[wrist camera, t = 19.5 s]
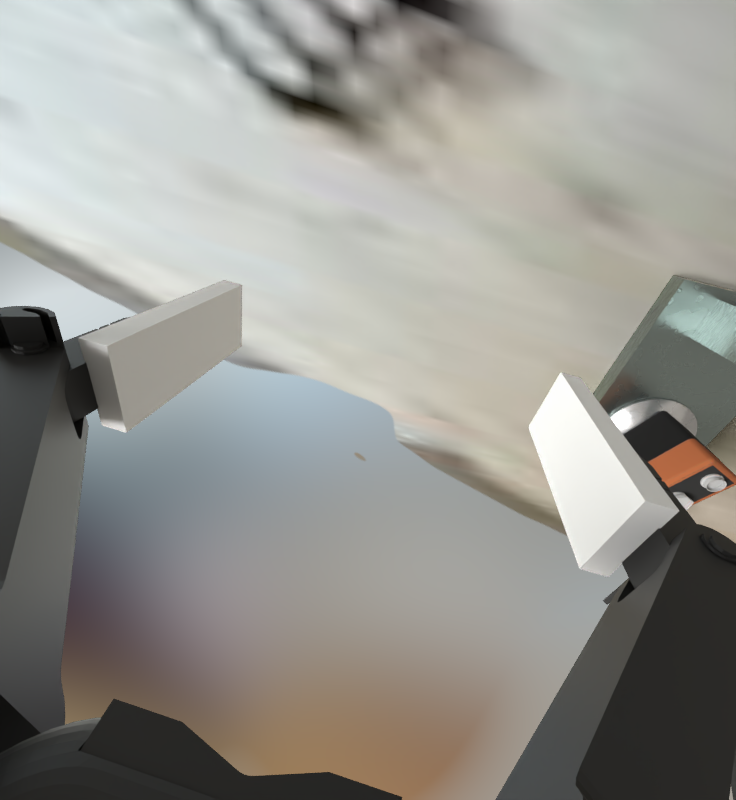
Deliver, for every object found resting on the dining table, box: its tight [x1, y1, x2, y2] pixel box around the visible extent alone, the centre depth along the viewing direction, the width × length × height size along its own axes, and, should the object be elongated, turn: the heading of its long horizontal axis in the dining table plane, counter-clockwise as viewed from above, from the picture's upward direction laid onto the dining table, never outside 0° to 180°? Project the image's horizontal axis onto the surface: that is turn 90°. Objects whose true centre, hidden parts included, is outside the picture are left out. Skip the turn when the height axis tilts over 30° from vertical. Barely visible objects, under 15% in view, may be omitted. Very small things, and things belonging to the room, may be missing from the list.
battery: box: [624, 411, 736, 510], centre depth 37 cm, size 4×7×10 cm, turn 145°
